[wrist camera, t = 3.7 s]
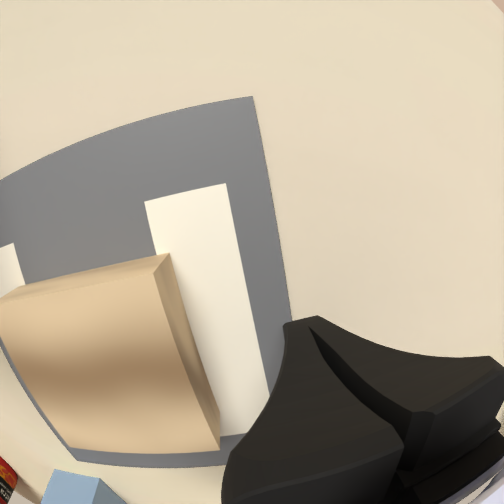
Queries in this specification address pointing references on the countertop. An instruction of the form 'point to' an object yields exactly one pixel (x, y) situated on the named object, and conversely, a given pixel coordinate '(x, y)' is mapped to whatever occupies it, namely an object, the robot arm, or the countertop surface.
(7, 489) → the canned food
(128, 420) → the oak slab
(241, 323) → the letter card
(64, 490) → the blue cube
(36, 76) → the countertop surface
